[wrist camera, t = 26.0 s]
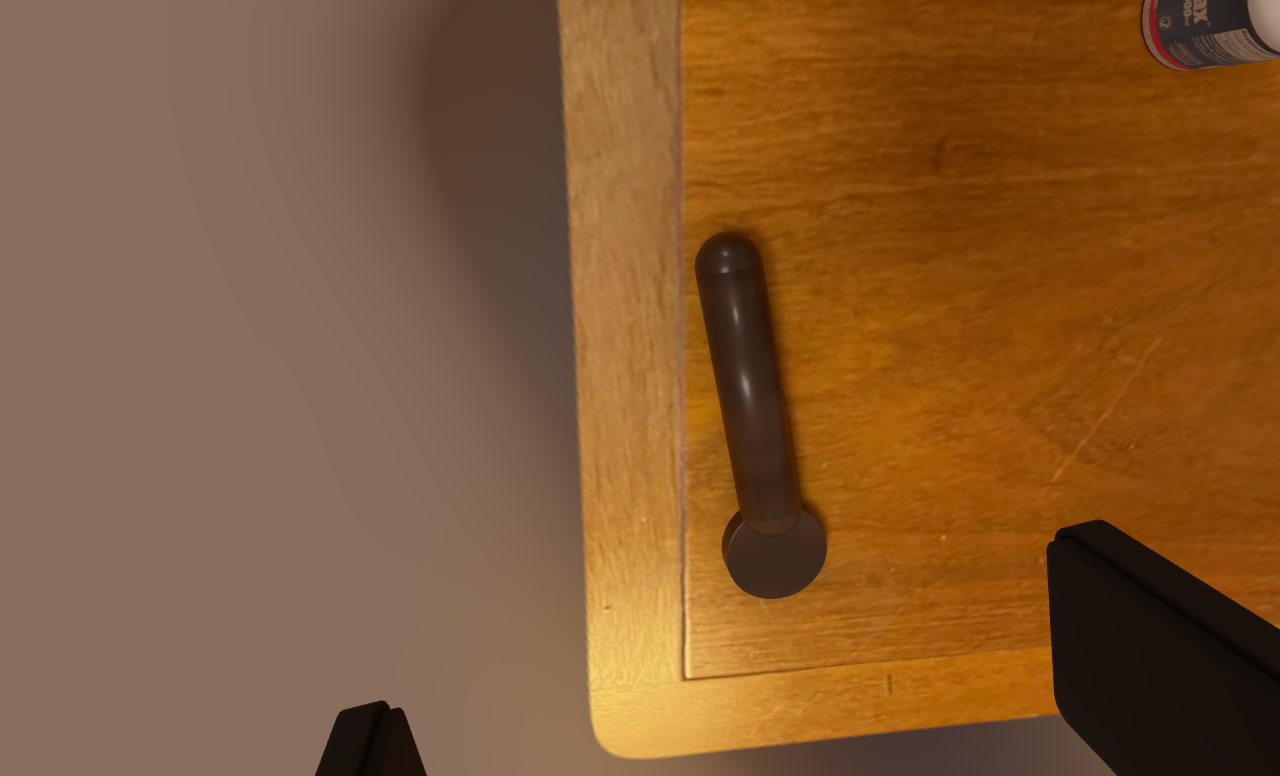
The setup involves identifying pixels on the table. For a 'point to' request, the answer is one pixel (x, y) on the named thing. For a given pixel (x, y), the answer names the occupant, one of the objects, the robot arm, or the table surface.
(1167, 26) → the pill bottle
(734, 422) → the spoon
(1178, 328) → the table surface
